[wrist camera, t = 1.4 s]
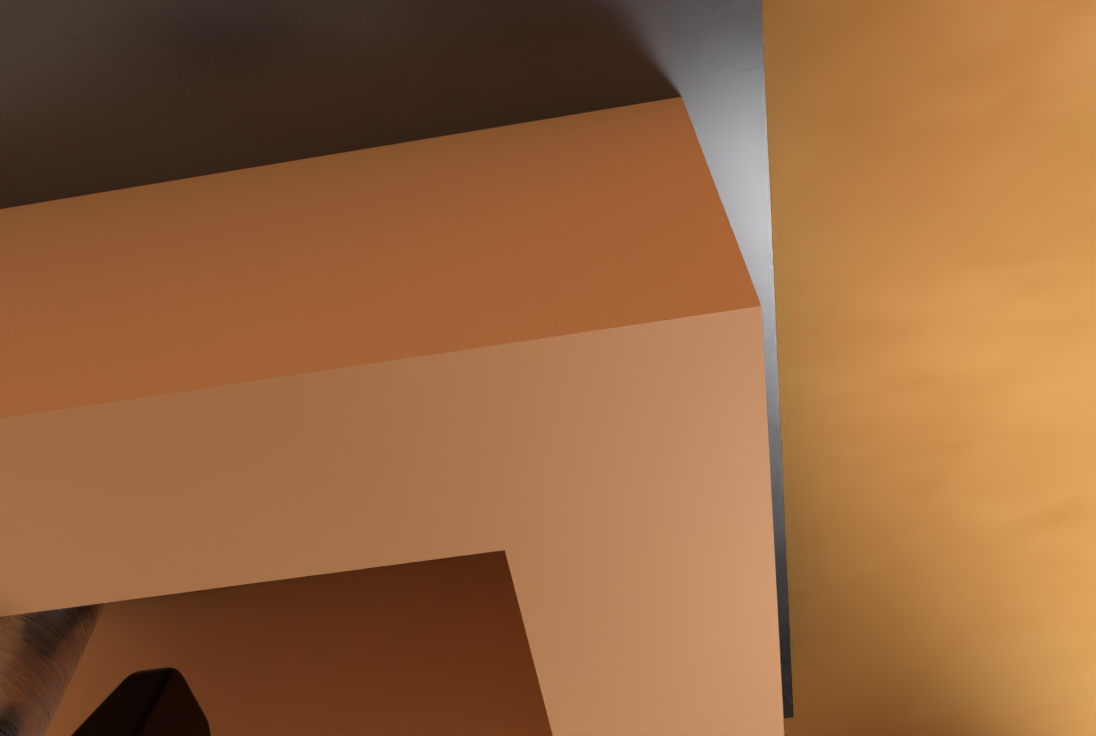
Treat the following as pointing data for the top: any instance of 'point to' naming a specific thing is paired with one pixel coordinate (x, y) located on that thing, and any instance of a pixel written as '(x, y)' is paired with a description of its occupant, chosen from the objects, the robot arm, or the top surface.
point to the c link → (402, 438)
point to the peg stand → (355, 141)
